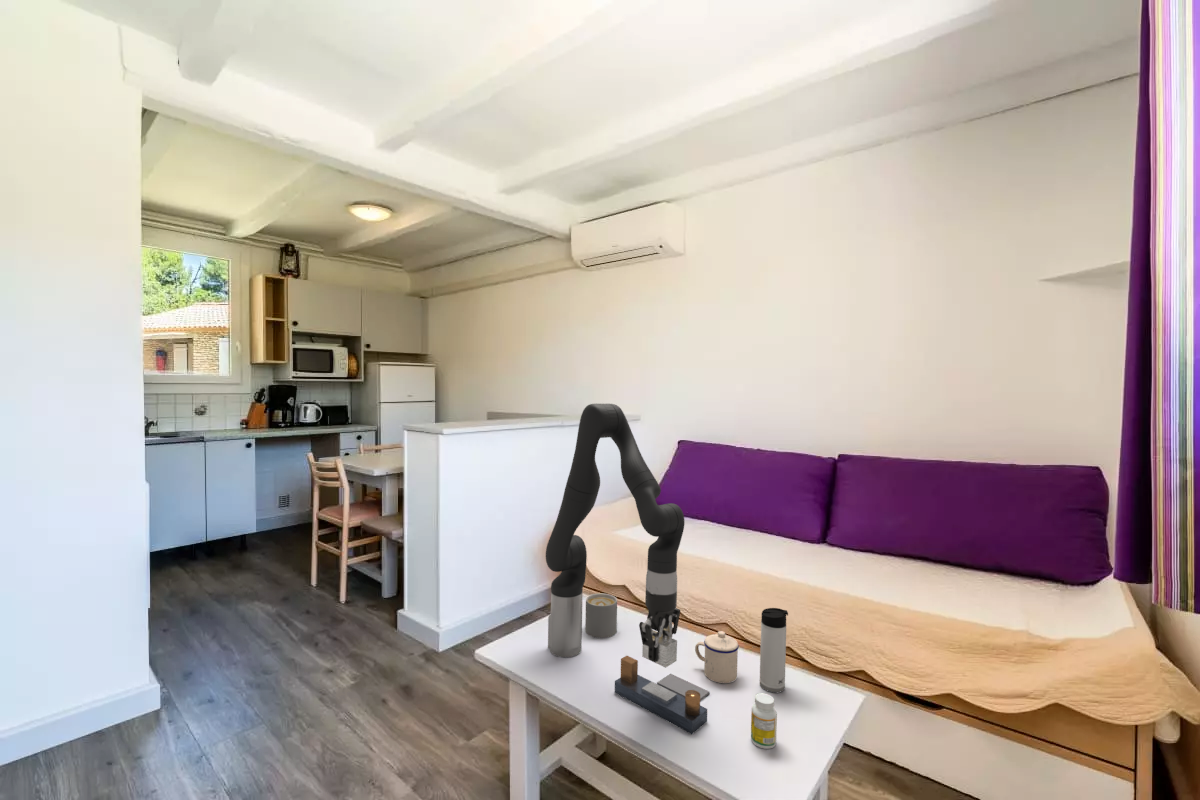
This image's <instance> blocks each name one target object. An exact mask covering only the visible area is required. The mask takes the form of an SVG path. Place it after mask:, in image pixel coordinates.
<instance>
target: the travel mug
mask: <svg viewBox="0 0 1200 800" xmlns="http://www.w3.org/2000/svg"><path fill="white" fill-rule="evenodd" d="M787 616H789V612H788V610H786V609H782V608H777V607H768V608H764V609H763V610H762V612H761V622H760V653H759V654H760V656H759V660H760V661H759V686H760V687H761V688H762V689H763V688H764V691H767V690H768V691H767V692H769V691H771V692H770V693H774V692H778V693H781V692H780V691H782V690H783V691H785V689H786V683H785V682H786V659H787V658H786V657H787V656H786V654H787V653H786V652H787V650H786V649H787ZM784 688H785V689H784ZM783 691H782V692H783Z"/></svg>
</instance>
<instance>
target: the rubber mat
mask: <svg viewBox="0 0 1200 800" xmlns="http://www.w3.org/2000/svg"><path fill="white" fill-rule="evenodd" d="M656 684H658V685H660V686H662V687H664V688H666V689H668V690H670V691H672V692H674V693H676V694H678V695H680V696H682V697H684V698H685V693H686V691H688V690H695V691H698V692H699V693H700V702H701V701H702V700H704V699H705V698H706V697H707V696H710V691H709V690H708V689H704V688H703V687H700V686H698V685H696V684H694V683H692V682H689V681H688V680H685V679H683V678H681V677H679V676H677V675H675V674H672V673H669V674H668V675H666V676H664V677H663V678H662V679H660V680H658V681H657V682H656Z"/></svg>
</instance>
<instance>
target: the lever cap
mask: <svg viewBox="0 0 1200 800" xmlns="http://www.w3.org/2000/svg"><path fill="white" fill-rule="evenodd" d="M652 630H653V629H652ZM653 631H654V632H657V631H656V630H653ZM652 638H653V641H654V639H655V637H654V636H652ZM657 647H658V661H657V662H653V661H651V660H649V658H648V648H649V646H646V645H644V644H642V650H641V651H642V652H641V653H642V654H641V655H642V657H643V658H645V660H648V661H651V662H653V663H655V664H657V665H659V666H661V667H663V668H668V667H669V666H671V665H673V664H674V663H675V662H677V661H678V660H677V658H678V657H677V654H678V640H677V639H675V638H673V637H672V638H670V637H668V636H665V635H663V634H662V636H661V637H660V638H659V642H658V646H657Z"/></svg>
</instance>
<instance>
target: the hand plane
mask: <svg viewBox="0 0 1200 800" xmlns="http://www.w3.org/2000/svg"><path fill="white" fill-rule="evenodd" d="M638 663H639V661H638V660H637V659H635V658H634V657H631V656H629V655H625V656H624V657H622V658H620V677H619V678H618V679H616V680H614V694H616V695H618V696H620V697H622V698H623V697H624V698H623V699H625V700H627V701H629V702H631V703H632V704H635V705H637V706H638V707H641V708H642V709H644V710H645V711H647V712H650V713H651V714H653V715H655V716H657V717H659V718H660V719H663V720H664V721H665V722H668V723H670V724H671V725H673V726H675V727H677V728H679V729H680V730H682V731H684V732H686V733H688V734H689V735H693V734H695V733H696V732H697V731H698V730H699V729H701V727H703V726H704V725H705V724H706V723H708V708H706V707H705V706H702V705H701V701H700V693H699V692H698V691H695V690H688V691H686V693H685V698H684V697H682V696H680V695H678V694H676V693H674V692H672V691H670V690H668V689H666V688H664V687H662V686H660V685H658V684H657V682H654V681H651V680H650V679H648V678H646V677H643V676H641V675H639V674H638V671H639V669H638V668H639V664H638Z"/></svg>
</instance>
